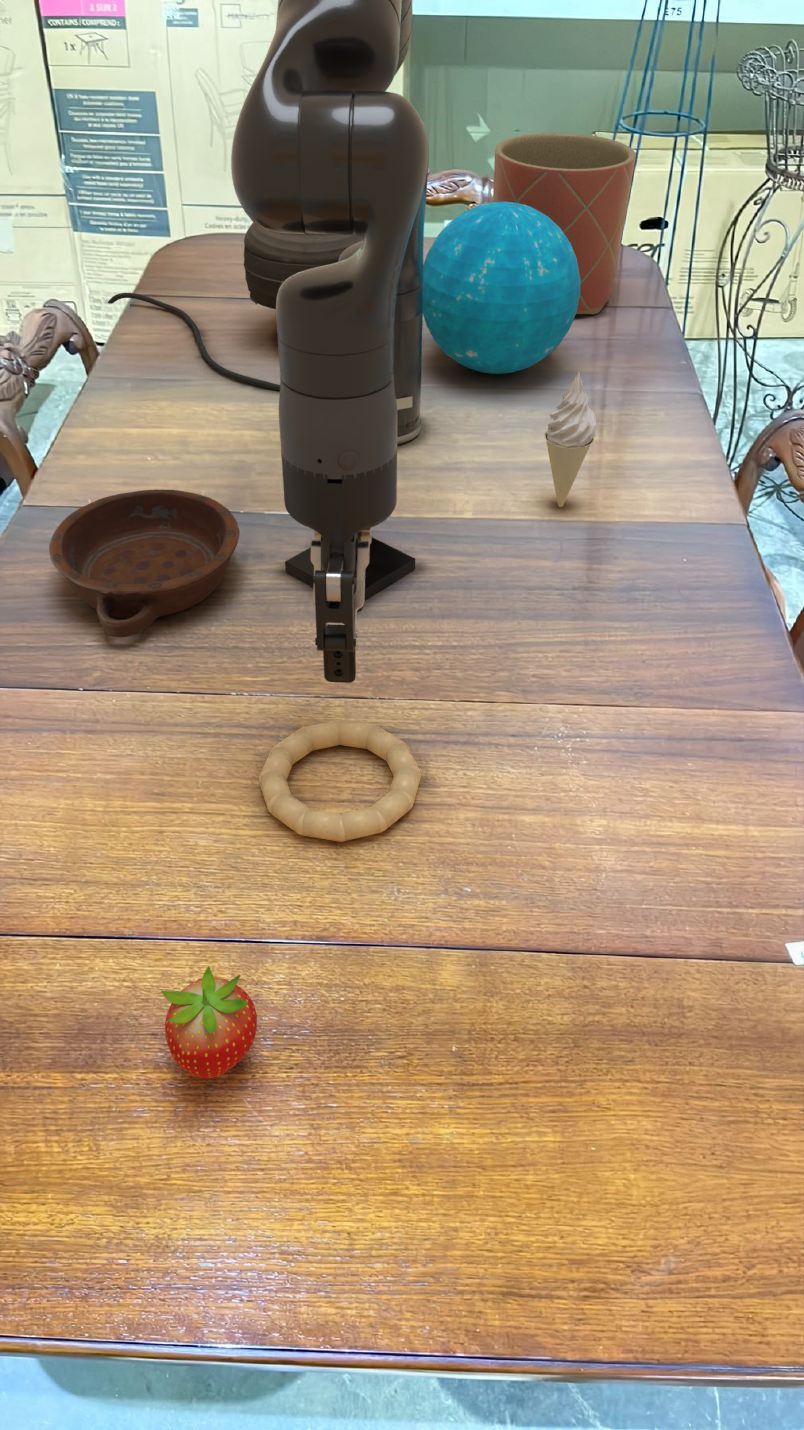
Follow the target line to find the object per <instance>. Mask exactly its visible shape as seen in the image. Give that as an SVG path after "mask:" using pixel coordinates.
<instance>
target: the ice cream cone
mask: <svg viewBox="0 0 804 1430" xmlns="http://www.w3.org/2000/svg"><path fill="white" fill-rule="evenodd" d="M561 396H562V399H563V400H562V401H561V403H559V404H558V405H557V406H556V407H555V408H556V409H557V410H555V411H553V412H551V413H549V417H550V418H551V419H552V421H549V423H548V424H547V428H548V429H546V431H545V432H544V434H543V435H544V439H545V441H546V446H547V452H548V459H549V464H550V470H551V475H552V480H553V485H554V491H555V497H556V503H557V506H558V507H559V508H563V507H564V505H565V503H566V500H567V498H568V495H569V493H570V491H571V489H572V487H573V486H574V485H573V484H574V482H575V481H576V478H577V476H578V474H579V471H580V469H581V467H582V465H583V462H584V460H585V458H586V456H587V454H588V451H589V450H590V447H591V445H592V444H593V442H594V440H595V436H596V428H597V423H596V422H597V421H596V414H595V413H594V411H593V410H592V409H591V408H590V407H589V398H588V395H587V393H586V391H585V388H584V384H583V381H582V378H581V373H580V371H577V373H576V375H575V377H574V379H573V381H572V383H571V384H570V386H569V388H568V389H567V390H566V391H565V393H564V394H562V395H561Z"/></svg>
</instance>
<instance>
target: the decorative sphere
mask: <svg viewBox="0 0 804 1430" xmlns="http://www.w3.org/2000/svg"><path fill="white" fill-rule="evenodd" d="M579 298H580V274H579V268H578V263H577V258H576V256H575V253H574V251H573V248H572V246H571V243H570V242H569V240H568V239H567V237H566V236H565V234H564V233H563V231H562V230H561V229H560V228H559V226H557V225H556V224H555V223H554V222H553V221H552V220H551V219H550V218H549V217H548V216H546V215H545V214H543V213H541V212H539V211H538V210H536V209H534V208H532V207H530V206H527V205H523V204H519V203H512V202H493V201H492V202H485V203H481V204H479V205H477V206H474V207H472V208H470V209H467V210H464V211H463V212H462V213H460V214H459V215H458V216H456V217H455V218H453V219H452V220H451V221H450V222H448V223H447V224H446V225H445V226H444V228H443V229H442V230H441V231H440V232H439V234H438V235H437V236H436V237H435V238H434V241H433V242H432V244H431V246H430V248H429V249H428V251H427V253H426V256H425V259H424V261H423V320H424V322H425V324H426V327H427V329H428V331H429V333H430V335H431V336H432V338H433V340H434V341H435V343H436V344H437V345H438V346H439V348H440V349H441V350H442V351H443V352H444V353H445V354H446V355H447V356H448V357H450V358H451V359H452V360H454V361H455V362H456V363H458V364H459V365H461V366H463V367H465V368H467V369H471V370H473V371H476V372H479V373H483V374H490V375H505V374H511V373H515V372H519V371H523V370H525V369H528V368H530V367H532V366H534V365H535V364H538V363H539V362H541V361H542V360H544V359H545V358H547V357H548V356H549V355H550V354H551V353H552V352H553V351H554V350H555V349H557V347H558V346H559V345H560V344H561V343H562V341H563V339H564V338H565V337H566V335H567V334H568V332H569V331H570V329H571V327H572V324H573V322H574V320H575V317H576V315H577V314H576V311H577V307H578V303H579Z"/></svg>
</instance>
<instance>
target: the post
mask: <svg viewBox="0 0 804 1430" xmlns="http://www.w3.org/2000/svg"><path fill="white" fill-rule="evenodd" d="M284 570H285V573H287V574H288V575H290V576H292V577H294V578H296V579H298V580H299V581H301V582H303V583H306V584H307V585H309V586H311V587H313V588H314V583H313V576H314V565H313V564H312V562H311V546H310V547H308V548H306V549H305V550H303V551H301V552H299V553H298V554H296V555H294V556H293V557H291V558H289V559H287V560H285V561H284ZM414 570H416V558H415V557H413V556H411V555H409V554H406V553H405V552H403V551H401V550H399V549H397V548H395V547H393V546H390V545H388V544H387V543H385V542H383V541H381V540H379V539H378V538H375V537H373V536H371V543H370V551H369V564H368V566H367V567H366V569H365V599H364V602H365V601H366V600H368V599H370V598H371V597H373V596H374V595H376V594H378V593H379V592H381V591H383V590H384V589H386V588H387V587H389V586H390V585H392V584H394V583H395V582H397V581H398V580H400V579H402V578H403V577H405V576H406V575H408V574H410V573H411V572H413V571H414Z"/></svg>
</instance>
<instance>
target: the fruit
mask: <svg viewBox="0 0 804 1430" xmlns="http://www.w3.org/2000/svg"><path fill="white" fill-rule="evenodd" d="M240 978H241V974H238V975H237V976H234V978H232V979H231V980H228V979H225V978H221V977H217V976H214V975H213V973H212V970H211V968H210V965H208V966H207V967H206V969H205V971H204V973H203V975H202V978H200V979H198V980H195V981H193V982H191V983H190V984H188V985H186V986H185V987H184V988H183V989H181V990H169V991H168V990H161V991H160V993H161V994H162V995H163V996H164V998H165V999H166V1000H167V1001H168V1002H170V1003H171V1004H170V1005H169V1008H168V1010H167V1013H166V1016H165V1023H164V1032H165V1039H166V1043H167V1047H168V1049H169V1052H170V1054H171V1056H172V1059H173V1060H174V1061H175V1063H176V1064H177V1066H179V1067H180V1068H181V1069H183V1070H184V1071H185V1072H186V1073H187V1074H189V1075H191V1076H194V1077H195V1078H201V1079H213V1078H217V1077H219V1076H221V1075H224V1074H226V1073H227V1072H228V1071H230V1070H231V1069H232V1068H233V1067H235V1066H236V1065H237V1064H238V1063H239V1062H240V1061H242V1059H243V1058H245V1056H246V1055H247V1053H248V1052H249V1051H250V1050H251V1048H252V1047H253V1043H254V1041H255V1038H256V1035H257V1030H258V1014H257V1011H256V1007H255V1004H254V1002H253V1000H252V998H251V997H250V995H249V994H248V992H247V991H245V990H244V989H243V988H242V987H240V986H239V985H238V983H239V982H238V981H239V980H240Z"/></svg>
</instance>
